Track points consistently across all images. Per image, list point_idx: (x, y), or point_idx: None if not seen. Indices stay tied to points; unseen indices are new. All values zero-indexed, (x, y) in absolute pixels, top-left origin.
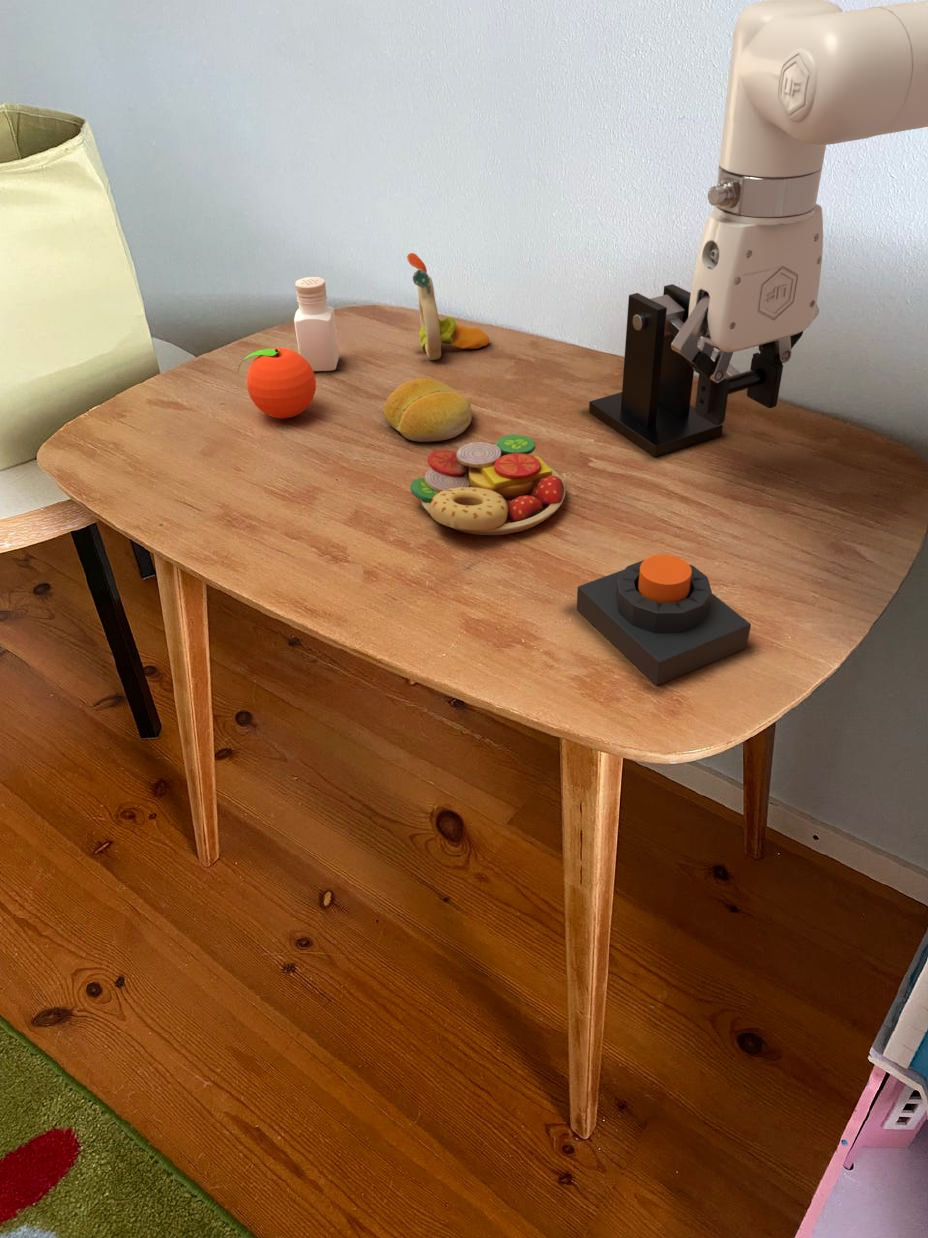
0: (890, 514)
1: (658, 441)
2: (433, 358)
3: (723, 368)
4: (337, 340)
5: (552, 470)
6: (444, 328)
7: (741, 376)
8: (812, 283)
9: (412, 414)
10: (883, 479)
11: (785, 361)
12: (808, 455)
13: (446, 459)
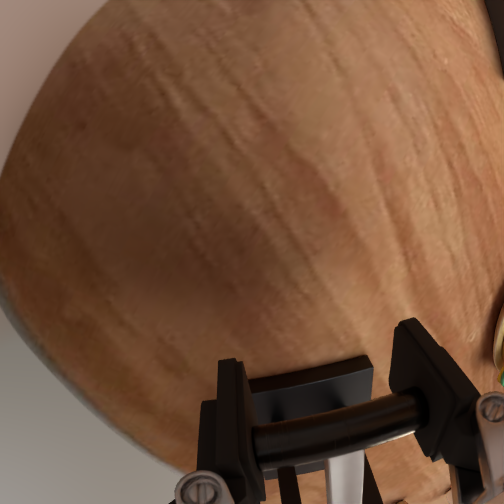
0: (95, 64)
1: (360, 377)
2: (404, 501)
3: (498, 428)
4: (451, 502)
5: (500, 332)
6: None
7: (346, 444)
8: None
9: None
10: (45, 174)
11: (199, 474)
12: (124, 288)
13: None
